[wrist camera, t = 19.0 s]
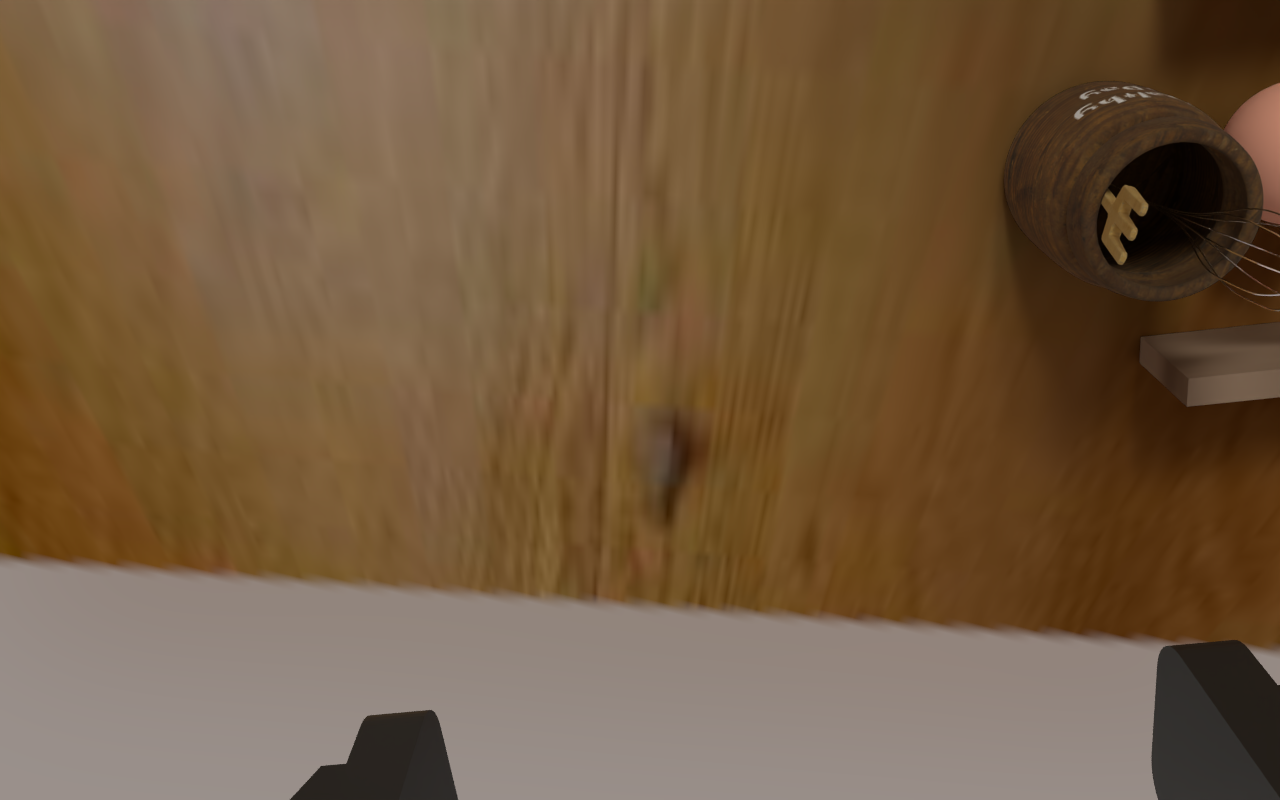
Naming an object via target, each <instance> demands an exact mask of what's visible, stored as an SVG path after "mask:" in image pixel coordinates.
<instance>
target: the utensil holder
mask: <svg viewBox="0 0 1280 800" xmlns="http://www.w3.org/2000/svg"><path fill="white" fill-rule="evenodd" d="M1004 186H1005V194H1006V199H1007V203H1008V206H1009V209H1010V211H1011V213H1012V215H1013V217H1014V219H1015V221H1016V223H1017V224H1018V226H1019V227H1020V229H1021V230H1022V231H1023V232H1024V234H1025V235H1026V236H1027V237H1028V238H1029V239H1030V240H1031V241H1032V242H1033V243H1034V244H1035V245H1036V246H1037V247H1038V248H1039V249H1040V250H1041V251H1043V252H1044V253H1045V254H1046V255H1047V256H1048V257H1050V258H1051V259H1052V260H1053V261H1054V262H1056V263H1057V264H1058V265H1059V266H1060V267H1062V268H1063V269H1064V270H1066V271H1067V272H1069V273H1070V274H1072V275H1073V276H1075V277H1077V278H1079V279H1081V280H1083V281H1085V282H1087V283H1090V284H1093V285H1095V286H1099V287H1103V288H1107V289H1108V290H1110V291H1113V292H1115V293H1118V294H1121V295H1123V296H1127V297H1130V298H1134V299H1138V300H1144V301H1168V300H1175V299H1179V298H1183V297H1187V296H1190V295H1192V294H1195V293H1197V292H1200V291H1202V290H1204V289H1206V288H1207V287H1209V286H1211V285H1212V284H1214V283H1216V282H1217V281H1218V280H1220V281H1221V282H1222V283H1223V284H1224V285H1225V286H1226V287H1227V288H1228V289H1229V290H1230V291H1232V292H1233V293H1235V294H1236V295H1238V296H1240V297H1241V298H1243V299H1245V300H1247V301H1249V302H1251V303H1253V304H1255V305H1258V306H1260V307H1262V308H1264V309H1267V310H1270V311H1280V309H1270V308H1267V307H1264V306H1262V305H1260V304H1257V303H1255V302H1253V301H1251V300H1249V299H1247V298H1245V297H1243V296H1241V295H1240V294H1238V293H1236V292H1235V291H1233V290H1232V289H1231V288H1230V287H1228V286H1227V285H1226V284H1225V283H1224V282H1226V283H1228V284H1230V285H1232V286H1234V287H1236V288H1238V289H1240V290H1242V291H1245V292H1248V293H1250V294H1254V295H1260V296H1279V295H1280V293H1278V292H1276V291H1274V290H1272V289H1271V288H1269V287H1267V286H1265V285H1263V284H1262V283H1260V282H1259V281H1257V280H1256V279H1254V278H1253V277H1251V276H1250V275H1249V274H1247V273H1246V272H1245V271H1243V270H1242V269H1241V268H1240V267H1238V266H1237V265H1236V264H1237V263H1238V262H1239V261H1240V260H1241V259H1242V258H1244V259H1246V260H1248V261H1250V262H1253V263H1255V264H1257V265H1260V266H1262V267H1265V268H1267V269H1270V270H1273V271H1275V272H1278V273H1280V271H1278V270H1275V269H1272V268H1270V267H1267V266H1265V265H1262V264H1260V263H1257V262H1255V261H1253V260H1250V259H1248V258H1246V257H1244V254H1245V253H1246V252H1247V250H1248V249H1249V247H1250V246H1252V247H1255V248H1257V249H1260V250H1262V251H1265V252H1267V253H1270V254H1272V255H1274V256H1277V257H1279V258H1280V256H1279V255H1276V254H1274V253H1272V252H1269V251H1267V250H1264V249H1262V248H1259V247H1257V246H1254V245H1252V244H1251V243H1252V242H1253V240H1254V238H1255V235H1256V233H1257V231H1258V228H1259V227H1261V228H1263V229H1265V230H1267V231H1269V232H1271V233H1273V234H1275V235H1276V236H1278V237H1280V235H1279V234H1277V233H1275V232H1273V231H1271V230H1269V229H1267V228H1265V227H1263V226H1261V225H1260V224H1263V225H1270V226H1276V227H1280V225H1274V224H1268V223H1260V221H1261V217H1262V212H1263V211H1268V212H1271V213H1275V214H1277V215H1280V213H1277V212H1274V211H1271V210H1266V209H1263V186H1262V181H1261V177H1260V174H1259V171H1258V169H1257V167H1256V165H1255V163H1254V161H1253V159H1252V158H1251V156H1250V155H1249V154H1248V152H1247V151H1246V150H1245V149H1244V148H1243V147H1242V146H1241V145H1240V144H1239V143H1238V142H1237V141H1236V140H1235V139H1234V138H1233V137H1232V136H1231V135H1229V134H1228V133H1227V132H1225V131H1224V130H1222V129H1221V128H1220V127H1219V125H1218V124H1217V123H1216V122H1215V121H1214V120H1213V119H1212V118H1210V117H1209V116H1208V115H1207V114H1205V113H1204V112H1203V111H1201V110H1200V109H1198V108H1196V107H1194V106H1193V105H1191V104H1189V103H1187V102H1184V101H1182V100H1180V99H1178V98H1175V97H1172V96H1169V95H1167V94H1164V93H1161V92H1158V91H1155V90H1152V89H1149V88H1146V87H1143V86H1139V85H1135V84H1131V83H1125V82H1118V81H1098V82H1090V83H1085V84H1081V85H1078V86H1075V87H1072V88H1069V89H1067V90H1065V91H1063V92H1061V93H1059V94H1057V95H1055V96H1053V97H1052V98H1050V99H1049V100H1047V101H1046V102H1045V103H1043V104H1042V105H1041V106H1040V107H1039V108H1037V109H1036V110H1035V111H1034V112H1033V113H1032V114H1031V115H1030V117H1029V118H1028V119H1027V120H1026V121H1025V123H1024V124H1023V125H1022V127H1021V128H1020V130H1019V131H1018V133H1017V135H1016V137H1015V139H1014V141H1013V143H1012V145H1011V147H1010V150H1009V153H1008V156H1007V160H1006V165H1005V174H1004ZM1235 266H1236V267H1237V268H1238V269H1239V270H1241V271H1242V272H1243V273H1244V274H1246V275H1247V276H1248V277H1250V278H1251V279H1253V280H1254V281H1255V282H1257V283H1259V284H1260V285H1262V286H1263V287H1265V288H1267V289H1269V290H1271V291H1273V292H1274V293H1276V294H1258V293H1253V292H1250V291H1247V290H1245V289H1242V288H1240V287H1238V286H1236V285H1234V284H1232V283H1230V282H1228V281H1226V280H1224V279H1222V277H1224V276H1225V275H1226V274H1227V273H1228V272H1229V271H1231V270H1232V269H1233V268H1234V267H1235ZM1223 281H1224V282H1223Z"/></svg>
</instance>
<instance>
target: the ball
mask: <svg viewBox="0 0 1280 800" xmlns="http://www.w3.org/2000/svg"><path fill="white" fill-rule="evenodd" d="M1224 131H1225V132H1227V133H1228V134H1229V135H1231V136H1232V137H1233V138H1234V139H1235V140H1236V141H1237V142H1238V143H1239V144H1240V145H1241V146H1242V147H1243V148H1244V149H1245V150H1246V151H1247V152H1248V154H1249V155H1250V156H1251V158H1252V159H1253V161H1254V163H1255V165H1256V167H1257V169H1258V171H1259V174H1260V177H1261V181H1262V186H1263V209H1266V210H1271V211H1274V212H1277V213H1280V83H1278V84H1275V85H1272V86H1270V87H1268V88H1266V89H1264V90H1262V91H1260V92H1258V93H1257V94H1255V95H1254V96H1252V97H1251V98H1250V99H1248V100H1247V101H1246V102H1245V103H1244V104H1243V105H1242V106H1241V107H1240V108H1239V109H1238V110H1237V111H1236V112H1235V113H1234V114H1233V116H1232V117H1231V119H1230V120H1229V122H1228V123H1227V125H1226V127H1225V129H1224ZM1261 220H1264V221H1267V222H1271V223H1275V224H1280V215H1277V214H1275V213H1271V212H1268V211H1263V212H1262V217H1261Z"/></svg>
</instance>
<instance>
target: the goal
mask: <svg viewBox="0 0 1280 800" xmlns="http://www.w3.org/2000/svg"><path fill="white" fill-rule="evenodd" d="M1139 363H1140V364H1141V365H1142V366H1143V367H1144V368H1146V369H1147V370H1148V371H1149V372H1150V373H1151V374H1152V375H1153V376H1154V377H1155V378H1156V379H1157V380H1158V381H1160V382H1161V383H1162V384H1163V385H1164V386H1165V387H1166V388H1167V389H1168V390H1169V391H1170V392H1171V393H1172V394H1174V395H1175V396H1176V397H1177V398H1178V399H1179V400H1180V401H1181V402H1182V403H1183V404H1184V405H1185V406H1186V407H1190V406H1199V405H1209V404H1219V403H1228V402H1238V401H1247V400H1257V399H1267V398H1276V397H1280V322H1274V323H1265V324H1256V325H1246V326H1237V327H1228V328H1219V329H1209V330H1200V331H1191V332H1182V333H1172V334H1163V335H1154V336H1145V337H1141V342H1140V362H1139Z"/></svg>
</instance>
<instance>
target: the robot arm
mask: <svg viewBox="0 0 1280 800" xmlns="http://www.w3.org/2000/svg"><path fill="white" fill-rule="evenodd" d="M1152 773H1153V779H1154V785H1155V789H1156V794H1157V797H1158V800H1280V685H1277V684H1276V683H1275V681H1274V680H1273V679H1272V678H1271V676H1270V675H1269V674H1268V673H1267V671H1266V670H1265V669H1264V668H1263V666H1262V665H1261V664H1260V663H1259V661H1258V660H1257V659H1256V658H1255V657H1254V655H1253V654H1252V653H1251V652H1250V650H1249V649H1248V648H1247V647H1246V646H1245V645H1244V644H1243V643H1241V642H1240V641H1237V640H1229V641H1218V642H1207V643H1196V644H1185V645H1173V646H1165V647H1163V649H1162V650H1161V652H1160V654H1159V658H1158V664H1157V679H1156V695H1155V711H1154V726H1153V742H1152ZM290 800H458V798H457V794H456V789H455V785H454V781H453V777H452V772H451V769H450V764H449V760H448V756H447V752H446V747H445V743H444V739H443V735H442V731H441V727H440V723H439V720H438V718H437V716H436V714H435V712H434V711H432V710H426V711H414V712H404V713H392V714H382V715H370V716H367V717H366V718H365V719H364V721H363V723H362V724H361V727H360V729H359V732H358V735H357V737H356V740H355V743H354V745H353V748H352V750H351V753H350V756H349V758H348V761H347V763H346V764H339V765H328V766H321V767H320V768H319V769H318V770H317V771H316V772H315V773H314V774H313V776H312V777H311V778H310V779H309V780H308V781H307V782H306V783H305V784H304V785H303V786H302V787H301V788H300V790H299V791H298V792H297V793H296V794H295V795H294V796H293V797H292V798H291V799H290Z"/></svg>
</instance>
